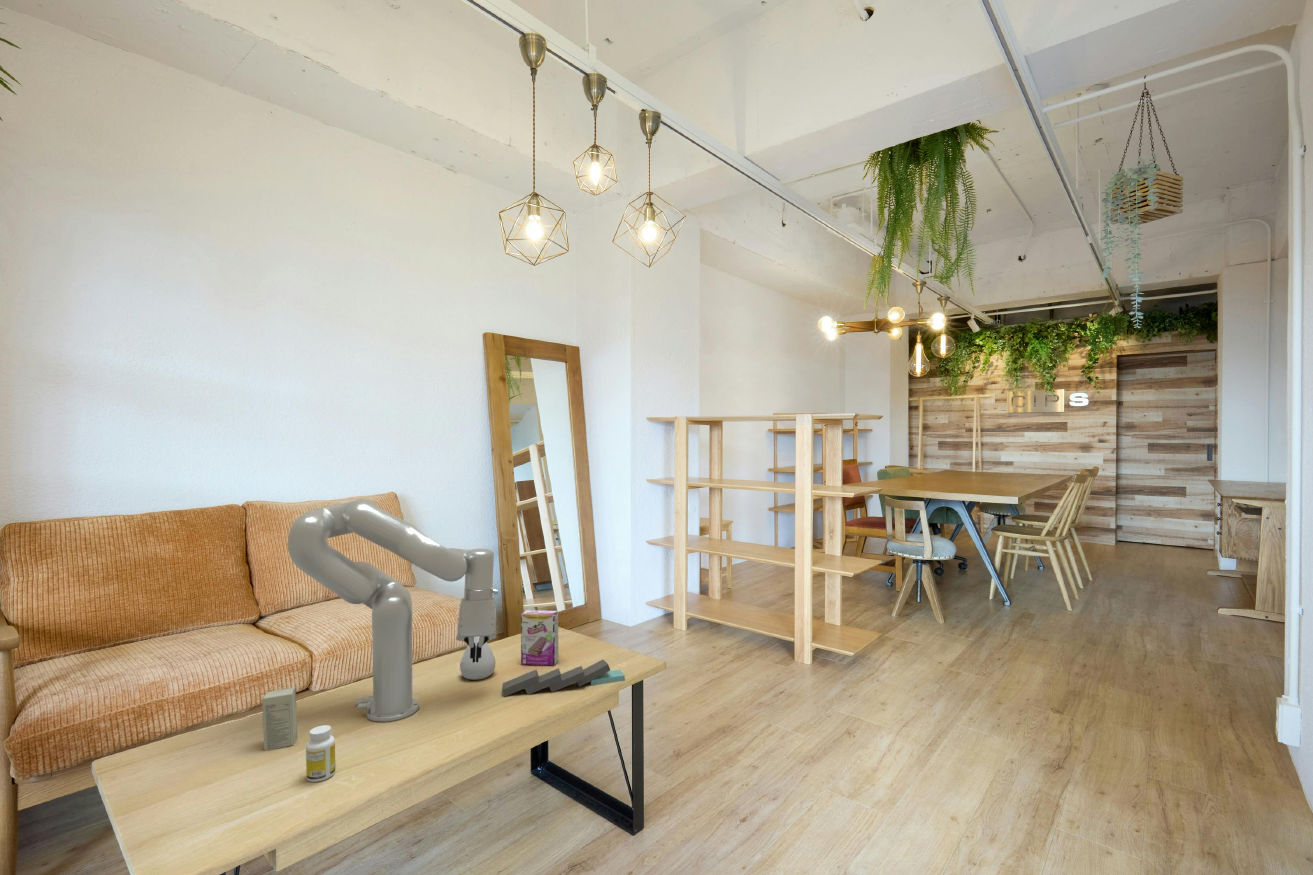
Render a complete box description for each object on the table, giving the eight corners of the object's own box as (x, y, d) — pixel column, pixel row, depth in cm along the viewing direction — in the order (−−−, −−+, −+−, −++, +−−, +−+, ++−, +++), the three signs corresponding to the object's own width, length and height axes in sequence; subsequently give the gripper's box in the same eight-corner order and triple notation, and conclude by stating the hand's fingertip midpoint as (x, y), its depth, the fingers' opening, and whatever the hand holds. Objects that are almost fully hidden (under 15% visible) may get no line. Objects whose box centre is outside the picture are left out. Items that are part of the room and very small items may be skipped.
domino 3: (549, 685, 169) (582, 671, 171) (548, 678, 174) (581, 665, 176) (551, 692, 169) (585, 678, 171) (550, 685, 174) (583, 671, 176)
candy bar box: (520, 665, 190) (519, 613, 190) (525, 660, 195) (525, 609, 195) (555, 666, 189) (554, 614, 189) (559, 660, 194) (558, 609, 194)
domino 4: (576, 680, 172) (608, 664, 176) (572, 675, 176) (603, 659, 180) (579, 686, 172) (610, 670, 176) (574, 681, 177) (605, 665, 180)
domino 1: (501, 689, 166) (536, 675, 168) (502, 683, 171) (536, 669, 173) (504, 696, 166) (538, 682, 168) (504, 689, 171) (538, 675, 173)
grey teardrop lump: (456, 673, 184) (456, 634, 184) (491, 667, 189) (490, 629, 189) (463, 685, 175) (462, 644, 175) (499, 678, 180) (498, 638, 180)
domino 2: (525, 688, 167) (559, 674, 169) (525, 681, 172) (558, 667, 174) (527, 694, 167) (561, 680, 169) (527, 687, 172) (560, 674, 174)
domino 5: (591, 679, 174) (624, 675, 177) (587, 673, 179) (620, 669, 182) (591, 686, 174) (624, 682, 177) (587, 680, 178) (620, 676, 182)
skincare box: (297, 737, 144) (297, 686, 145) (294, 745, 140) (293, 693, 141) (266, 742, 142) (266, 690, 142) (262, 751, 138) (261, 697, 138)
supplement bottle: (327, 766, 131) (327, 721, 131) (340, 773, 128) (340, 727, 128) (301, 777, 127) (301, 730, 127) (314, 785, 124) (313, 737, 124)
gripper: (505, 590, 173) (503, 654, 172) (450, 591, 169) (448, 657, 168) (506, 596, 165) (503, 663, 165) (449, 598, 161) (446, 667, 161)
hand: (475, 660), depth 166 cm, fingers closed
